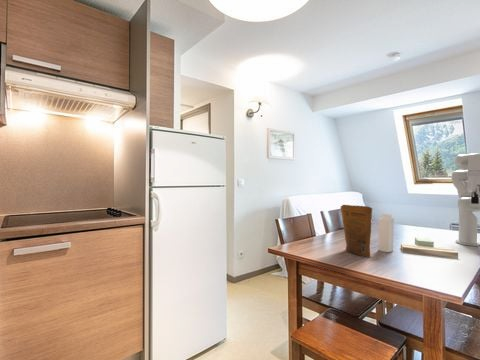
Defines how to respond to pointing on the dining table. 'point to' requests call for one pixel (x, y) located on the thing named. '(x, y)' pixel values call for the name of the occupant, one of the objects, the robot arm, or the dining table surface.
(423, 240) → the block
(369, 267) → the dining table surface
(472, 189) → the robot arm
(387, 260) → the dining table surface
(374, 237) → the dining table surface
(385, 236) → the milk
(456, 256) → the board
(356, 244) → the pancake mix bag
